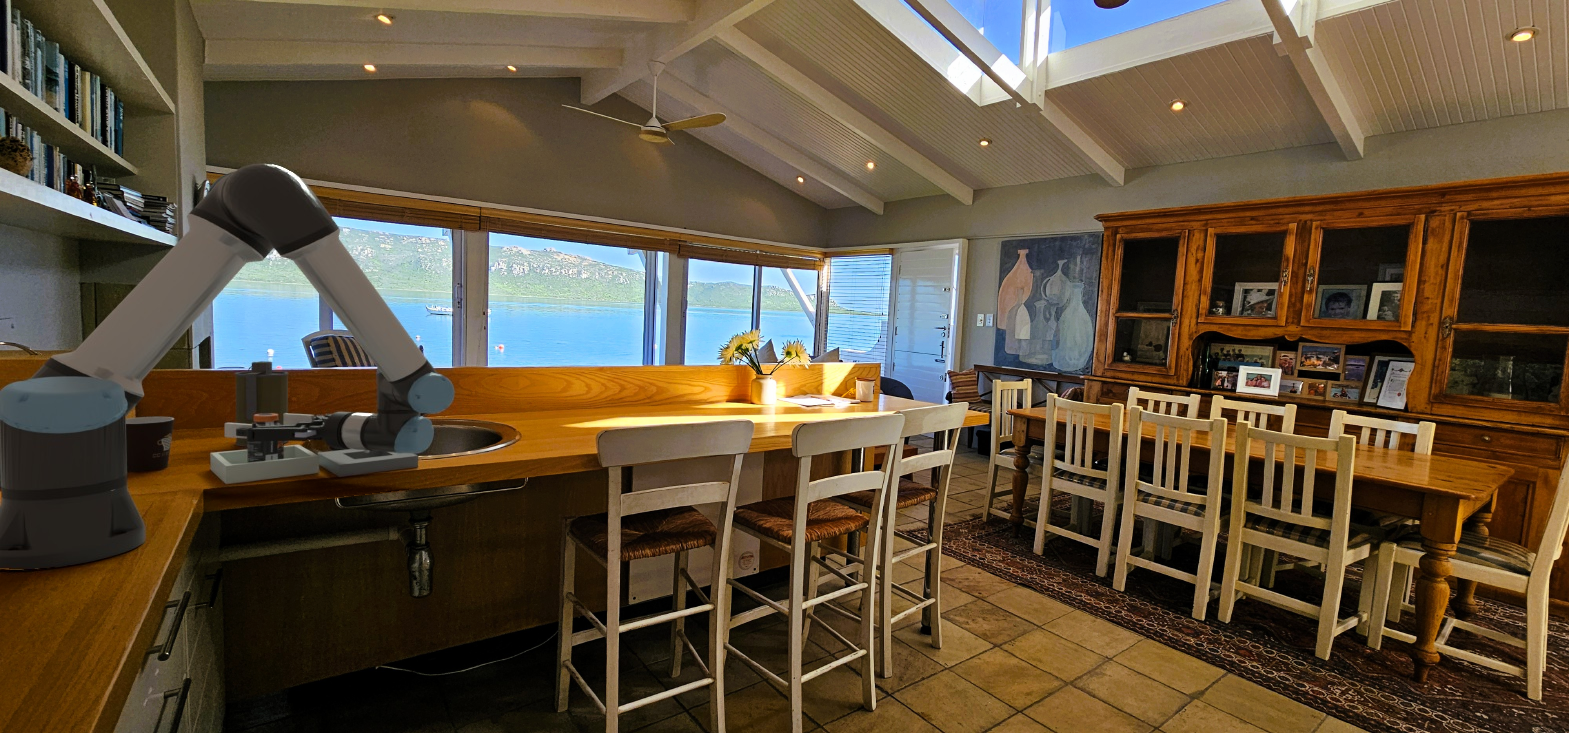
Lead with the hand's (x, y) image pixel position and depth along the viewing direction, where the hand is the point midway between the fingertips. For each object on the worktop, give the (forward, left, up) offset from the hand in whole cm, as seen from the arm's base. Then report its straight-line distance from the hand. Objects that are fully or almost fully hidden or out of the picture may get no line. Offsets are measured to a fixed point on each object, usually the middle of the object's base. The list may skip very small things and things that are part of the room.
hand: (256, 424), depth 136 cm
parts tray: (-2, -1, -10) cm, 10 cm away
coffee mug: (+14, +14, -10) cm, 22 cm away
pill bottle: (-2, -1, -9) cm, 9 cm away
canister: (+31, -7, -10) cm, 34 cm away
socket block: (-8, -18, -10) cm, 22 cm away
